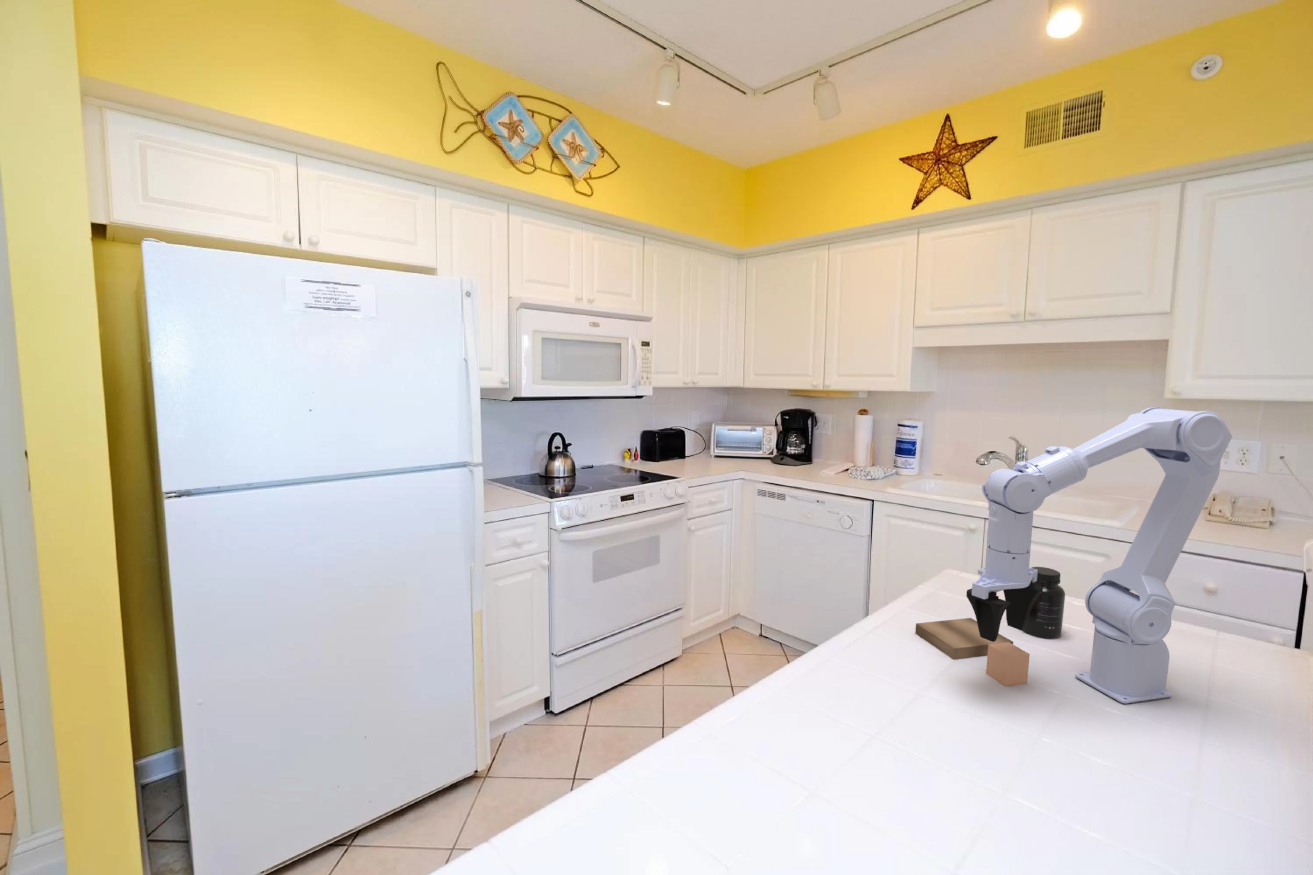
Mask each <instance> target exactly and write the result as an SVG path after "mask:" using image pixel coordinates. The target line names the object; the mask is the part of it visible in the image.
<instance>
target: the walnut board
mask: <svg viewBox="0 0 1313 875" xmlns="http://www.w3.org/2000/svg"><path fill="white" fill-rule="evenodd" d="M915 635H917V636H918V637H920V638H921V639H923V640H924V641H926V642H927V643H928V644H930V645H932V646H933V647H934V648H936V649H938V650H939V651H940V652H942V653H943V654H944V655H946V656H948V657H949V658H950V659H952V660H962V659H963V660H964V659H971V658H979V657H980V658H981V657H987V656H988V645H989V644H998V643H1007V642H1009V643H1011V644H1013V645H1014V641H1013V640H1011V639H1009V638H1007V637H1005V636H1004V635H1002V634H1000V633H998V637H997V639H996V641H994V642H992V641H989V640H987V639H984V638H982V637H980V634H979V629H978V624H977V620H975V619H973V618H972V617H966V618H956V619H947V620H946V619H945V620H938V621H928V622H927V621H926V622H919V623H915Z"/></svg>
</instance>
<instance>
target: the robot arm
mask: <svg viewBox="0 0 1313 875" xmlns="http://www.w3.org/2000/svg"><path fill="white" fill-rule="evenodd" d="M1232 438H1233V435H1232V433H1231V431H1230V429H1229V428H1228V426H1227V424H1226V422H1225V420H1224V418H1222V417H1221V416H1220V415H1219V414H1218V413H1216V412H1213V411H1210V410H1209V411H1208V410H1197V411H1195V410H1182V409H1171V408H1163V407H1157V406H1156V407H1155V406H1154V407H1147V408H1145V409H1143V410H1141V411H1139V412H1136V413H1133V414H1130V415H1128V417H1127V418H1126V420H1125V421H1124V422H1121V423H1120V424H1118V425H1116V426H1114V427H1112V428H1110V429H1108V430H1106V431H1104V432H1103V433H1101V434H1099V435H1096V436H1095V437H1093V438H1090V439H1089V440H1088V441H1085V442H1084V443H1081V444H1080V445H1078V446H1076V447H1074V448H1071V447H1068V446H1065V445H1063V446H1062V445H1061V446H1054V445H1051V446H1047V447H1045V449H1044V452H1045V453H1041V455H1040V454H1039V455H1038V456H1036V457H1034V458H1032V459H1029V460H1027V461H1022V460H1021V461H1019V462H1017V463H1015V466H1014V467H1013V468H1012V469H1010V468H998V469H997V470H995V471H993V472H992V473H991V474H990V475H989V476H988V477H987V479H986V481H985V484H982V486H981V490H982V493H983V496H984V498H985V499H986V500H987V502H988V509H987V510H988V521H987V523H988V524H987V536H986V549H985V550H986V551H985V564H984V565H985V566H984V567H982V568H981V567H980V568H978V569H977V574H978V575H980V576H979V578H978V579H977V580H976V581H974V582H972V584H971V585H972V586H971V588H969V589H967V590H966V598H967V600H968V602H969V603H970V605H971V607H972V610H973V613H974V615H975V619H976V620H975V621H977V624H978V629H979V634H980V637H982V638H984V639H987V640H989V641H992V642H994V641H996V639H997V637H998V633H999V632H1000V628H1001V622H1002V619H1003V616H1004V613H1005V618H1006V624H1007V627H1011V628H1013V629H1016V630H1019V631H1023V628H1024V626H1025V624H1026V621H1027V618H1028V615H1029V613H1030V610H1031V608H1032V606H1033V604H1034V603H1035V601H1036V600H1037V598H1038V597H1039V596H1040V595H1041V593H1042V592H1043V587H1041V586H1039V585H1036V584H1032V582H1036V581H1037V572H1038V570H1037V569H1033V568H1032V567H1030V559H1031V549H1032V548H1031V547H1032V546H1031V545H1032V536H1033V525H1034V523H1033V521H1034V512H1035V511H1037V510H1038V509H1039V508H1040V507H1041V506H1042V505H1043V503H1044V501H1045V500H1046V498H1047V497H1050V496H1051V495H1053V494H1055V493H1057V492H1060V491H1061V490H1062V491H1063V489H1066V488H1068V487H1070V486H1072V485H1075V484H1076V483H1077V484H1078V483H1079V482H1082V481H1083V480H1085V479H1086V477H1087V475H1088V474H1087V473H1088V470H1089V469H1090V468H1093V467H1095V466H1097V465H1101V464H1103V463H1105V462H1106V463H1107V462H1108V461H1111V460H1113V459H1115V458H1119V457H1121V456H1123V455H1126V454H1128V453H1132V452H1134V451H1136V450H1139V449H1144V450H1145V451H1146V452H1147V453H1148V454H1149V455H1150V456H1151V457H1152V458H1153V459H1154V460H1156V462H1158V463H1159V465H1160V467H1161V469H1162V471H1163V472H1164V474H1165V476H1164V478H1163V480H1162V481H1161V484H1160V486H1159V488H1158V489H1157V492H1156V494H1155V496H1154V498H1153V500H1152V502H1151V504H1150V506H1149V508H1148V511H1147V512H1146V515H1145V516H1144V518H1143V520H1142V522H1141V524H1140V527H1139V528H1138V531H1137V533H1136V535H1135V537H1134V539H1133V540H1132V543H1131V545H1130V547H1129V550H1128V552H1126V555H1125V557H1124V560H1123V561H1122V564H1121V565H1120V566H1118V567H1115V568H1112V569H1109V570H1106V571H1105V572H1103V573H1102V575H1101V577H1100V579H1099V581H1098V582H1096V583H1095V584H1094V585H1093V586H1091V587H1090V588H1089V589H1088V591H1087V593H1086V595H1085V600H1084V604H1085V608H1086V610H1087V612H1088V613H1089V614H1090V615H1091V616H1092V624H1094V628H1093V629H1094V630H1093V640H1092V649H1091V651H1092V652H1091V660H1090V669H1089V671H1088V672H1087V671H1085V672H1077V673H1075V678H1077V679H1078V680H1080V681H1082V682H1083V683H1085V684H1087V685H1089V686H1090V687H1092V688H1094V689H1095V690H1097V691H1100V692H1102V694H1103V693H1104V694H1105V695H1107V696H1109V697H1111V699H1114V700H1116V701H1118V702H1119V703H1120V704H1121V703H1122V704H1130V703H1137V702H1145V701H1151V700H1157V699H1158V700H1159V699H1164V698H1165V699H1166V698H1171V697H1172V692H1170V691H1168V690H1166V688H1167V680H1168V674H1169V664H1170V651H1169V648H1168V645H1167V643H1166V642H1165V641H1164V638H1165V637H1166V636H1167V635H1168V634H1169V632H1170V630H1171V628H1172V614H1173V610H1174V609H1175V606H1176V604H1177V603H1176V601H1175V598H1174V597H1173V596H1172V594H1171V592H1170V590H1169V589H1168V587H1167V585H1166V582H1167V580H1168V578H1169V576H1170V575H1171V573H1172V570H1173V569H1174V566H1175V564H1176V562H1177V560H1178V558H1179V557H1180V555H1181V552H1182V550H1184V549H1183V548H1184V547H1185V544H1186V543H1187V540H1188V538H1189V536H1190V534H1191V533H1192V531H1193V529H1194V527H1195V524H1196V523H1197V521H1198V519H1199V517H1200V515H1201V513H1202V511H1203V509H1204V507H1205V505H1206V502H1207V501H1208V499H1209V498H1210V495H1211V493H1212V491H1213V488H1214V487H1215V485H1216V483H1217V481H1218V478H1219V476H1220V472H1221V470H1220V469H1221V461H1222V458H1223V456H1224V454H1225V452H1226V451H1227V448H1228V446H1229V444H1230V442H1231V440H1232ZM1001 591H1002V592H1003V595H1004V599H1001V598H1000V597H999V595H997V593H998V592H1001ZM1132 591H1133V592H1132ZM1134 592H1135V593H1134ZM999 634H1000V633H999Z"/></svg>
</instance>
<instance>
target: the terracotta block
mask: <svg viewBox="0 0 1313 875" xmlns="http://www.w3.org/2000/svg"><path fill="white" fill-rule="evenodd" d="M1029 665H1030V653H1029V652H1028V651H1025V650H1023V649H1022V648H1020V647H1018V646H1016V645H1014V643H1013V644H1011V643H1009V642H1007V643H998V644H989V645H988V656H986V670H985V674H986V675H988V676H989V677H991V678H992V679H994V680H995V681H997V682H999V683H1000V684H1001V685H1003V686H1004V687H1012V686H1019V685H1027V684H1028V678H1029V674H1028V673H1029Z"/></svg>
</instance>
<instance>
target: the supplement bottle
mask: <svg viewBox="0 0 1313 875" xmlns="http://www.w3.org/2000/svg"><path fill="white" fill-rule="evenodd" d="M1031 568H1033V569H1037V570H1038V572H1037V581H1036V582H1032V584H1036V585H1039V586H1041V587H1043V592H1042V593H1041V595H1040V596H1039V597H1038V598H1037V600H1036V601H1035V603H1034V604H1033V606H1032V608H1031V610H1030V613H1029V615H1028V618H1027V621H1026V624H1025V626H1024V628H1023V630H1022V631H1023V632H1025V633H1026V634H1029V635H1031V636H1034V637H1037V638H1040V639H1041V638H1042V639H1057V638H1059V637H1060V636H1061V635H1062V631H1063V623H1064V611H1065V601H1066V591H1065V589H1064V588H1063V587H1062V586H1060V585H1061V572H1060V571H1058V570H1055V569H1053V568H1049V567H1044V566H1043V567H1042V566H1032V567H1031Z"/></svg>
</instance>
